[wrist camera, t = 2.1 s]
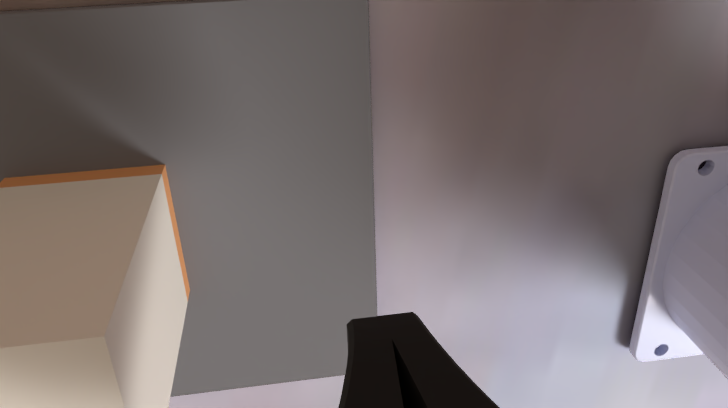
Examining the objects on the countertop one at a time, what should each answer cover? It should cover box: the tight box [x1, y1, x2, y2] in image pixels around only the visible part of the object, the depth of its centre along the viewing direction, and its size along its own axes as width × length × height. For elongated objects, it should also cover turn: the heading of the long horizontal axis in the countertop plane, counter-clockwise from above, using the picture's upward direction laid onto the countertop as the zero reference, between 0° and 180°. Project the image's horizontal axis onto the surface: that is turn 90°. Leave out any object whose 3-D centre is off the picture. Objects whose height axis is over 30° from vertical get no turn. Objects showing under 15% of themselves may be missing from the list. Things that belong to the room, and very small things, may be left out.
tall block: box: [0, 164, 190, 408], centre depth 14 cm, size 4×4×7 cm
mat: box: [0, 0, 377, 397], centre depth 17 cm, size 18×12×1 cm, turn 91°
